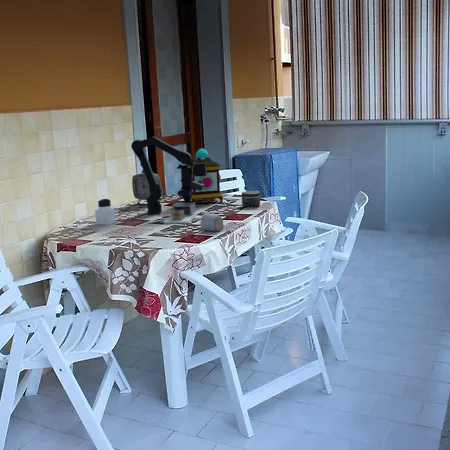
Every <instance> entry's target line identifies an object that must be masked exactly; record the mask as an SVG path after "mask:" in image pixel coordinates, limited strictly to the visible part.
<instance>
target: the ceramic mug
mask: <svg viewBox="0 0 450 450" xmlns="http://www.w3.org/2000/svg"><path fill="white" fill-rule="evenodd" d="M199 223H200V228H201V230H203V231H209V232H219V231H221V230H222V229H224V227H225V225H224V220H223V217H222V216H220V215H219V214H212V213H208V212H206V213H203V214H202V215H201V218H200V222H199Z"/></svg>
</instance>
